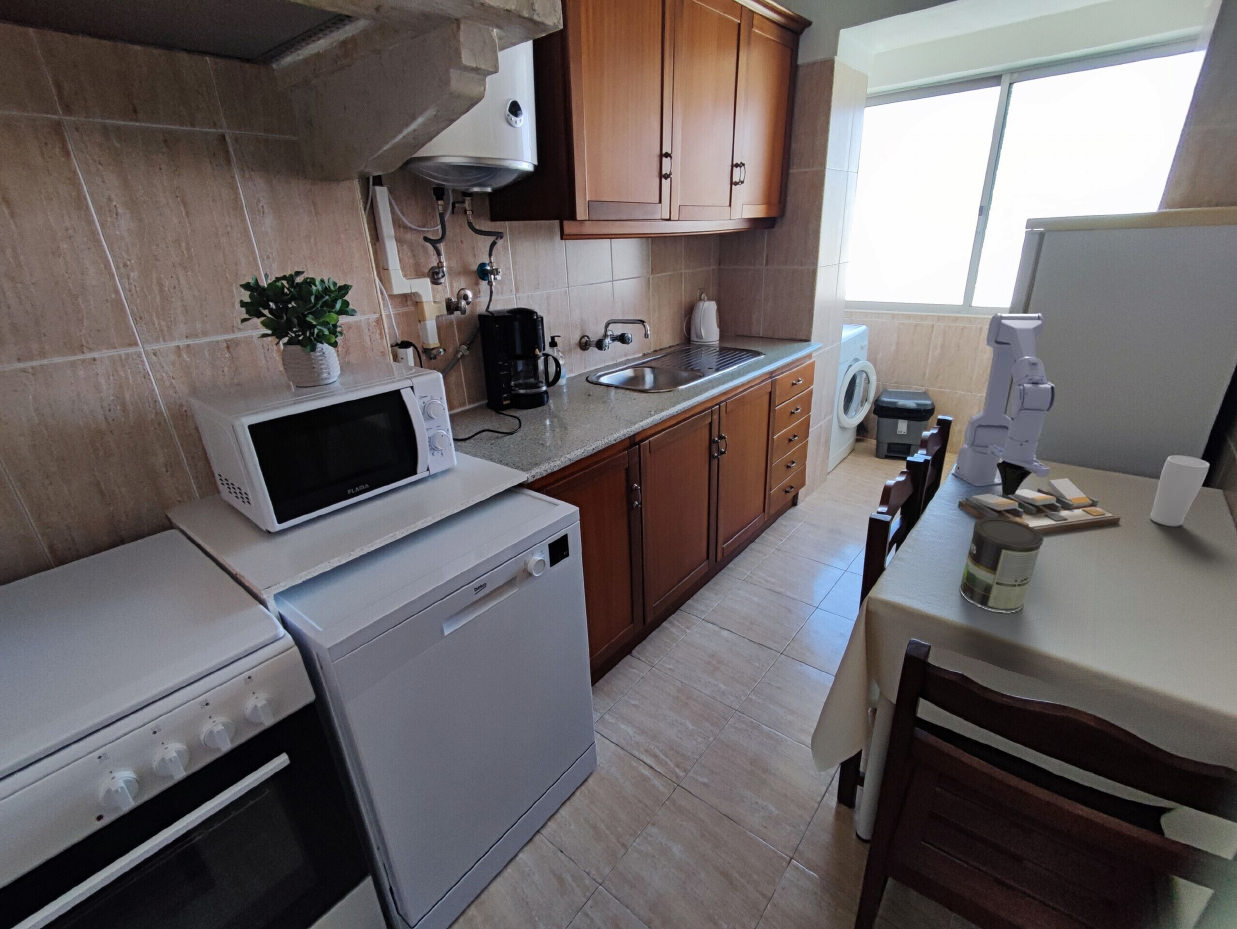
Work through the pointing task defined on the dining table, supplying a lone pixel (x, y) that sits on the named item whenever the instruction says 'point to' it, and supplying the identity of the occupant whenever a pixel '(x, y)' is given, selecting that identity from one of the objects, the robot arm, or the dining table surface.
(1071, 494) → the rocker
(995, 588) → the coffee can
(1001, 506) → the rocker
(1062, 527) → the switch board
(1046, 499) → the rocker middle
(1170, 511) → the drinking glass
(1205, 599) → the dining table surface
